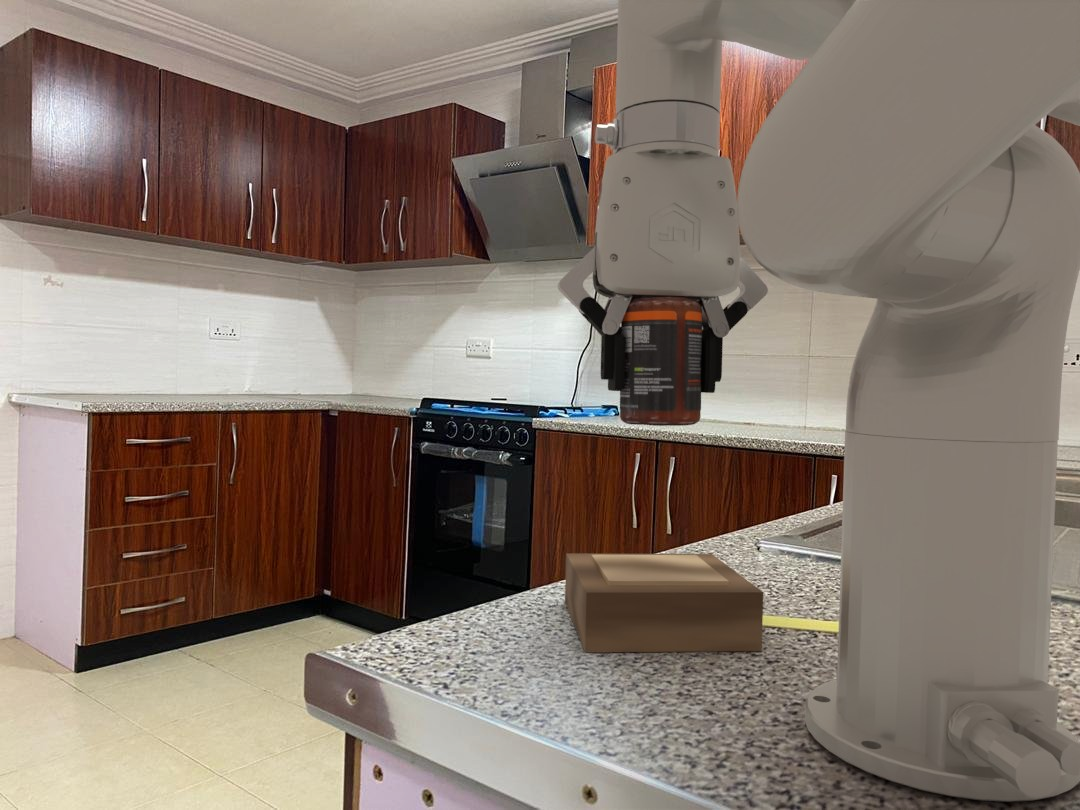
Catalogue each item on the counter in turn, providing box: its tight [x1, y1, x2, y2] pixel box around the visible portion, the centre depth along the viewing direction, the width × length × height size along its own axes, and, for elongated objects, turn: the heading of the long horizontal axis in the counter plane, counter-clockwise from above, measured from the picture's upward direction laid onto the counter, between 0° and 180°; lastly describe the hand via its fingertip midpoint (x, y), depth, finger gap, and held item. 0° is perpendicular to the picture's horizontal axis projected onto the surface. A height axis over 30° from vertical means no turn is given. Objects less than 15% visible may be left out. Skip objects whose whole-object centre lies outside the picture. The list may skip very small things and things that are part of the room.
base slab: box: [564, 552, 764, 653], centre depth 61 cm, size 12×12×4 cm
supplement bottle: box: [619, 295, 702, 427], centre depth 60 cm, size 6×6×11 cm
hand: (660, 389), depth 60 cm, fingers closed on supplement bottle, 6 cm apart
